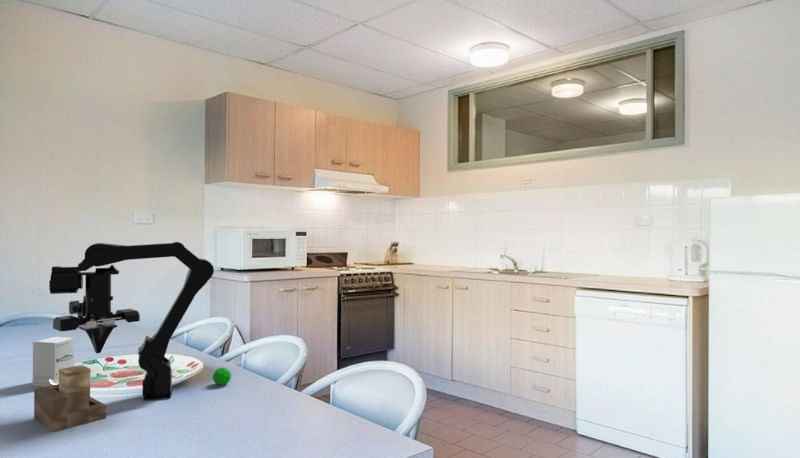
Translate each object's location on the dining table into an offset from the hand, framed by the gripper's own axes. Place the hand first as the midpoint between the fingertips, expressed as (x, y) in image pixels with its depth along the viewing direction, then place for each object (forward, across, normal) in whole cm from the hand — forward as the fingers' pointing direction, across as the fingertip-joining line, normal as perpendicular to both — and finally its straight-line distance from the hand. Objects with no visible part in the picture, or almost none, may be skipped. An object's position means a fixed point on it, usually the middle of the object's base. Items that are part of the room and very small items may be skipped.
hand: (98, 352), depth 135 cm
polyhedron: (+13, -30, +10) cm, 34 cm away
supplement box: (+13, +1, -27) cm, 30 cm away
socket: (+13, +7, +6) cm, 16 cm away
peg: (+8, +7, +6) cm, 13 cm away
